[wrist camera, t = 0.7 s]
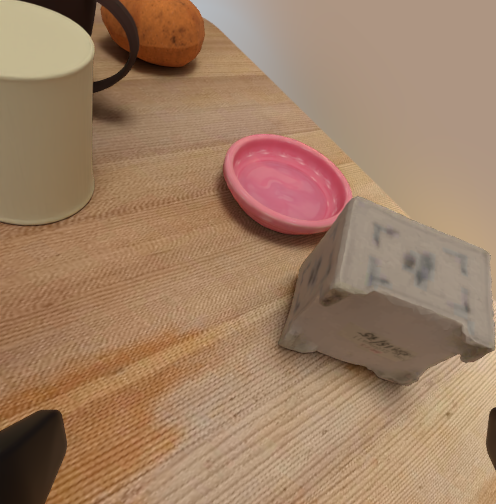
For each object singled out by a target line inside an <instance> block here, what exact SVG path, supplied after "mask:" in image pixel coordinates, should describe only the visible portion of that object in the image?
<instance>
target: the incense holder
mask: <svg viewBox="0 0 496 504" xmlns="http://www.w3.org/2000/svg"><path fill="white" fill-rule="evenodd" d="M490 256H491V255H490V254H489V253H488V252H487V251H485V250H484V249H482V248H480V247H477V246H475V245H472V244H470V243H468V242H465V241H463V240H461V239H459V238H456V237H454V236H451V235H448V234H445V233H443V232H440V231H437V230H436V229H434V228H431V227H428V226H425V225H423V224H421V223H419V222H417V221H414V220H411V219H409V218H407V217H405V216H403V215H401V214H399V213H396V212H394V211H392V210H390V209H388V208H386V207H383V206H381V205H378V204H376V203H374V202H372V201H369V200H367V199H365V198H362V197H359V196H357V197H354V198H352V199H351V200H350V201H349V202H348V203H347V204H346V205H345V207H344V209H343V210H342V212H341V213H340V214H339V215H338V217H337V219H336V220H335V221H334V223H333V224H332V226H331V227H330V229H329V230H328V231H327V233H326V234H325V236H324V237H323V238H322V239H321V240H320V242H319V243H318V245H317V246H316V247H315V249H314V250H313V251H312V253H311V254H310V255H309V256H308V257H307V259H306V260H305V261H304V262H303V264H302V266H301V268H300V270H299V275H298V279H297V283H296V288H295V293H294V296H293V301H292V305H291V308H290V312H289V315H288V318H287V320H286V323H285V326H284V329H283V331H282V335H281V338H280V340H279V342H278V344H279V345H280V346H282V347H285V348H288V349H290V350H294V351H297V352H301V353H308V352H315V351H318V352H320V353H323V354H325V355H328V356H331V357H333V358H336V359H339V360H342V361H344V362H348V363H352V364H355V365H361V366H365V367H366V368H367V369H368V370H372V371H373V372H374V373H375V374H376V375H377V377H379V378H381V379H383V380H388V381H391V382H394V383H397V384H400V385H405V386H409V385H411V384H412V383H414V382H416V381H418V380H419V377H420V376H421V375H422V374H423V373H424V371H426V370H427V369H428V368H430V367H432V366H434V365H437V364H438V363H440V362H442V361H445V360H447V359H449V358H451V357H453V356H455V355H457V354H460V355H461V357H460V360H461V361H463V362H465V363H468V362H474V361H476V360H478V359H480V358H482V357H483V356H485V355H486V354H487V353H489V352H492V351H494V350H495V330H494V327H495V323H494V320H493V317H494V311H493V300H492V291H491V283H492V281H491V280H492V279H491V273H490V271H491V270H490Z"/></svg>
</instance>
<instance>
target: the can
mask: <svg viewBox="0 0 496 504" xmlns="http://www.w3.org/2000/svg"><path fill="white" fill-rule="evenodd" d="M94 54H95V47H94V43H93V41H92V39H91V37H90V36H89V34H88V33H87V32H86V31H85V30H84V29H83V28H82V27H81V26H79V25H78V24H77V23H75V22H74V21H72V20H71V19H69V18H67V17H65V16H63V15H61V14H59V13H57V12H55V11H52V10H50V9H47V8H44V7H41V6H38V5H35V4H31V3H27V2H22V1H17V0H0V221H1V222H5V223H10V224H17V225H41V224H47V223H52V222H56V221H59V220H62V219H65V218H67V217H70V216H71V215H73V214H75V213H77V212H78V211H79V210H81V209H82V208H83V207H84V206H85V205H86V204H87V203H88V201H89V200H90V198H91V196H92V194H93V192H94V186H95V182H94V176H93V169H92V100H93V60H94Z"/></svg>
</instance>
